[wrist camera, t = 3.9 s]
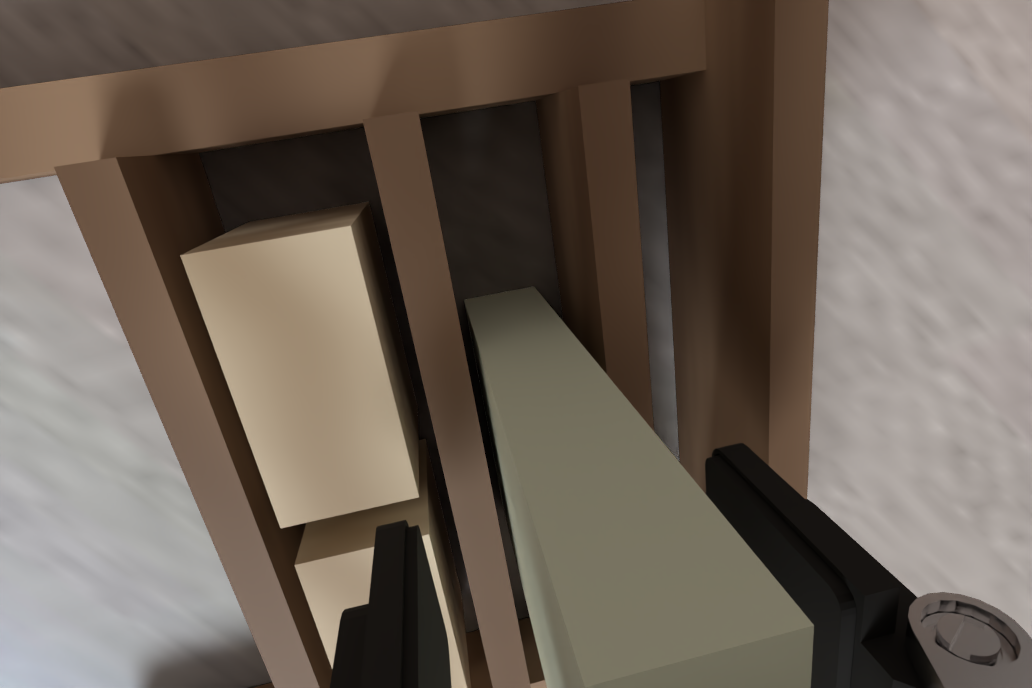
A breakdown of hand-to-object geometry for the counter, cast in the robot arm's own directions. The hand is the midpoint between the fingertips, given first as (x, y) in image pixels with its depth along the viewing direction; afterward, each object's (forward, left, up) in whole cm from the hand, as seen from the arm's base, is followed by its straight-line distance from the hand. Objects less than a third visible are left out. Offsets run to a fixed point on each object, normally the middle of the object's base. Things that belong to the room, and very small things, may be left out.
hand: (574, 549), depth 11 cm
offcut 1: (+4, -4, -7) cm, 9 cm away
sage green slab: (0, 0, -7) cm, 7 cm away
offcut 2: (+4, +4, -7) cm, 9 cm away
